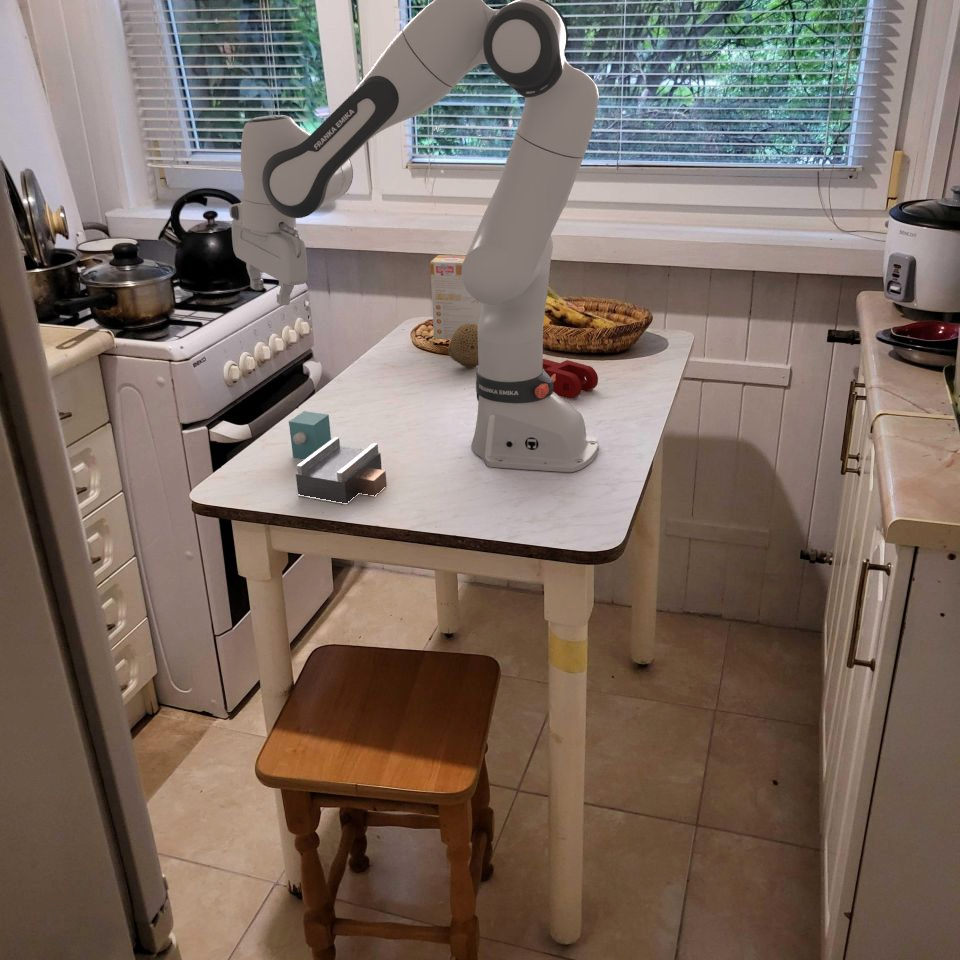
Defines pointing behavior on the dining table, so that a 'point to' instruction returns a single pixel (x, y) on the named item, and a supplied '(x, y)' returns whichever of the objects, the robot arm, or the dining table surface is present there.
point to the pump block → (309, 433)
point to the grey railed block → (341, 472)
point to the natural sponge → (465, 345)
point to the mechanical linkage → (570, 377)
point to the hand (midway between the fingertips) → (269, 296)
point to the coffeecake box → (451, 297)
